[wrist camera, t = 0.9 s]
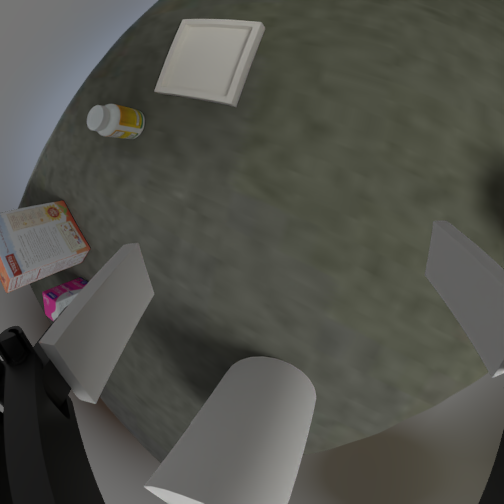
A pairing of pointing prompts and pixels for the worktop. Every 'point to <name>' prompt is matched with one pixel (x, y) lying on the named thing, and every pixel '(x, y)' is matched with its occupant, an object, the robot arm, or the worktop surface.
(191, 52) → the tray
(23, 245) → the cracker box
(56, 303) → the supplement box
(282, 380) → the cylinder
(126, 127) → the supplement bottle
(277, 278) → the worktop surface
